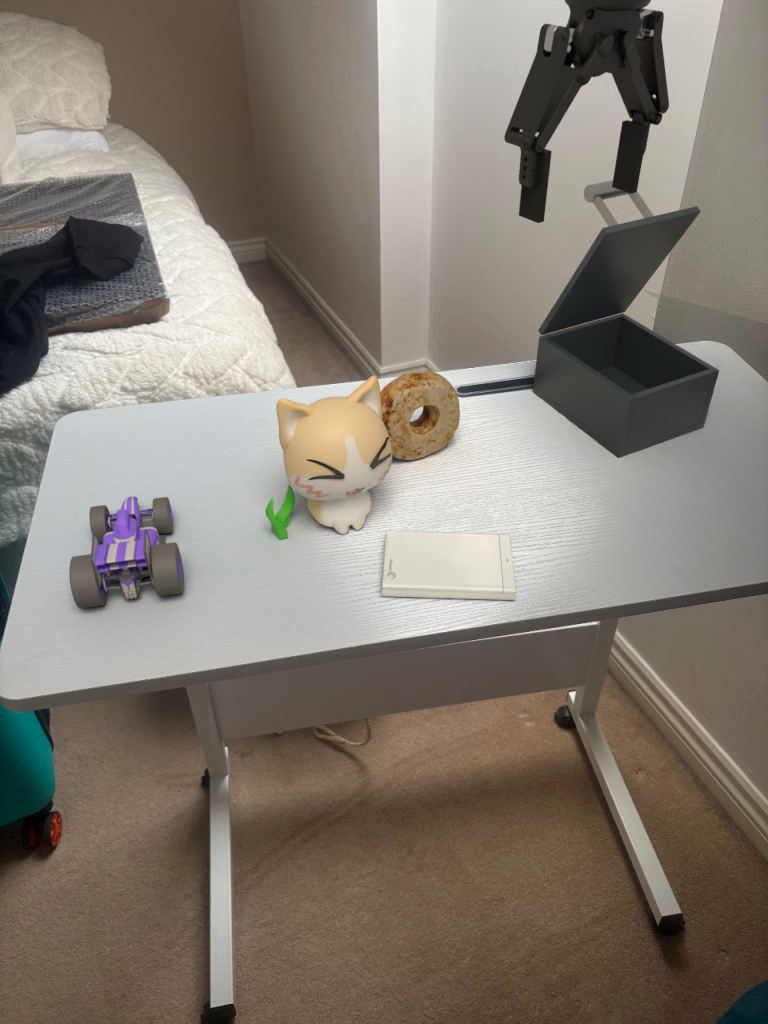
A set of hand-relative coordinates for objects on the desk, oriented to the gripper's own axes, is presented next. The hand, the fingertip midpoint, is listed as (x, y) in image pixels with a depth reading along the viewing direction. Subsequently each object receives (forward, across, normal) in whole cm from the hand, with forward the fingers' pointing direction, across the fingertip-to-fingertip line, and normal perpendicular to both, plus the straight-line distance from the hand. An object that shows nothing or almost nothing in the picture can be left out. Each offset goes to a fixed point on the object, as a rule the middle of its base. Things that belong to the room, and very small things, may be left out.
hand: (579, 204), depth 84 cm
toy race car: (+26, +50, -8) cm, 57 cm away
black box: (+26, -8, +3) cm, 28 cm away
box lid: (+10, -9, -1) cm, 14 cm away
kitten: (+26, +31, -1) cm, 41 cm away
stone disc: (+26, +17, -5) cm, 32 cm away
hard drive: (+26, +27, +12) cm, 40 cm away
